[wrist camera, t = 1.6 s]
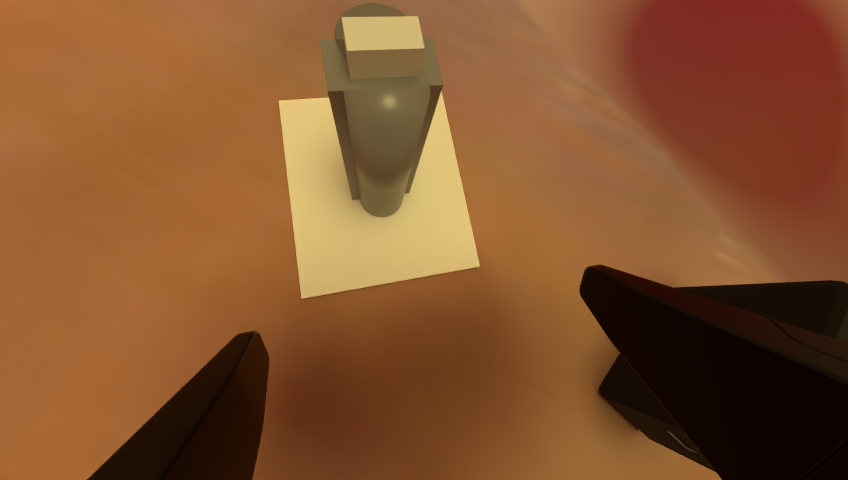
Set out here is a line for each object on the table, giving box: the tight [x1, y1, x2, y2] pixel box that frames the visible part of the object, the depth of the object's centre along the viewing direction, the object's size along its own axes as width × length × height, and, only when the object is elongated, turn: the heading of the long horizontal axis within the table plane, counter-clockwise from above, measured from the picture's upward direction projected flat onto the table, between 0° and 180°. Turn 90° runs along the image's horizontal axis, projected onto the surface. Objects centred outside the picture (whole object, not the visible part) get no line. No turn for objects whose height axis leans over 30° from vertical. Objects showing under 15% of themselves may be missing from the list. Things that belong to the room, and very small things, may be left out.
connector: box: [320, 3, 443, 217], centre depth 15 cm, size 5×4×12 cm
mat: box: [279, 92, 480, 299], centre depth 21 cm, size 14×12×1 cm
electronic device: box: [600, 280, 848, 472], centre depth 17 cm, size 4×10×10 cm, turn 138°
